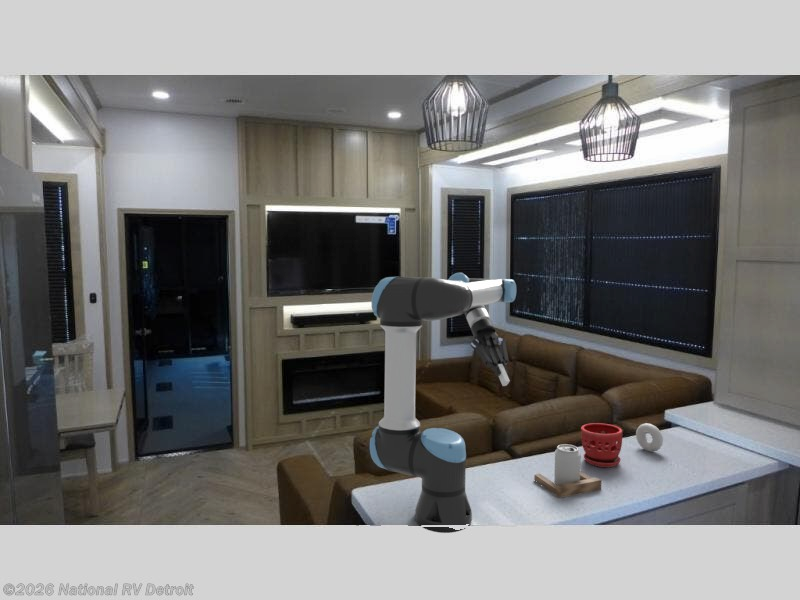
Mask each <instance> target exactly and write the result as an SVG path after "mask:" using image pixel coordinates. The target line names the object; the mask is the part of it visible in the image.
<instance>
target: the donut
mask: <svg viewBox="0 0 800 600" xmlns="http://www.w3.org/2000/svg"><path fill="white" fill-rule="evenodd" d="M647 434H649V435H650V436H651V438H652V440H651V441H649V440H648V438H647ZM635 436H636V437H635V438H636V441H637V443H638V444H639V446H640V447H641V448H642V449H643V450H645V451H647V452H653V453H654V452H658V450H660V449H661V448H662V446H663V443H664V437H663V434H662V432H661V431H660V429H659V428H658V427H657V426H656V425H653V424H652V423H647V422H645V423H642V424H640V425H639V426H638V427H637V429H636V431H635Z"/></svg>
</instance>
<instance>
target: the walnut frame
mask: <svg viewBox="0 0 800 600" xmlns="http://www.w3.org/2000/svg"><path fill="white" fill-rule="evenodd" d="M533 478H534V479H533V480H535V481H534V482H536V481H537V482H538V483H539V485H540V486H541V485H542V487H543V488H544V487H545V488H544V489H545V490H547V491H549V492H550V493H551V494H553V495H554V496H556V497H557V498H559V499H561V498H566V497H571V496H576V495H580V494H586V493H591V492H596V491H601V490H602V480H601V479H600V478H598V477H591V476H590V475H588V474H587V473H584V472H583V471H581V470H580V481H575V482H570V483H564V484H559V485H557V484H556V483H555V482H553V481H552V480H551V479H549V478H548V477H546V476H545V475H543V474H542V473H536V474H534V475H533ZM537 482H536V483H537ZM538 483H537V484H538Z"/></svg>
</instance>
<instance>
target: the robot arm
mask: <svg viewBox="0 0 800 600" xmlns="http://www.w3.org/2000/svg"><path fill="white" fill-rule="evenodd" d="M516 296H517V284H516V282H515V280H514V279H511V278H508V279H507V278H475V277H474V278H469V277H468V276H467V275H466V274H464V273H463V272H456V273H454V274H452V275H451V276H449V278H448V279H443V278H438V277H437V278H436V277H421V276H420V277H419V276H417V277H414V276H413V277H412V276H411V277H410V276H388V277H387V276H386V277H384V278H382V279H380V280H379V282H378V283H377V285H376V286H375V287H374V289H373V292H372V296H371V311H372V312H373V314H374V316H375V317H376V318H378V319H379V326H380V327H381V328H382V329H383V330H384V332H385V333H384V334H385V335H384V336H385V337H384V339H385V341H384V346H385V347H384V399H383V401H384V407H383V409H384V412H383V413H384V414H383V417H382V418H381V420H379V421H378V425H377V426H376V427H375V428H374V429H373V431H372V433H371V437H370V439H369V452H370V457H371V459H372V461H373V463H374V464H375V465H376V466H377V467H379V468H381V469H384V470H387V471H389V472H394V473H400V474H402V475H403V474H404V475H408V476H412V477H417V478H420V479H421V492H420V494H419V497H418V501H417V504H416V506H415V522H416V523H417V525H419V526H420V525H466V524H470V523H471V524H472V522H471V521H472V520H473V518H472V517H473V514H472V513H473V512H472V508H471V506H470V505H471V504H470V502H469V498H468V496H467V493H466V470H467V468H466V464H467V463H466V461H467V460H466V459H467V452H466V443H465V440H464V438H463V437H462V435H460V433H459V434H458V432H455V431H453V430H450V429H447V428H442V427H438V428H437V427H430V428H426V429H424V430H423V431H422V432H421V422H420V420H418V419H417V418H416V381H417V380H416V378H417V377H416V375H417V372H416V371H417V370H416V369H417V367H416V366H417V332H418V331H419V330H420V329H421V328H422V327H423V322H424V321H425V322H426V321H428V322H433V321H434V322H435V321H440V320H445V319H448V318H449V319H450V318H453V317H457V316H461V315H463V314H464V315H465V318H466V321H467V323H468V326H469V327H470V331H471V333H472V335H473V337H474V339H473V340H472V341H471V343H470V347H471V348H472V349H474V351H475V352H476V354H477V355H478V356H479V358H480V360H481V361H482V362H483V363H484V366H486V368H490V369H491V370H493V373H494V374H495V376H496V377H498V379H499V381H500V383H501V385H502V387H506V386H507V387H508V385H509V383H510V381H511V380H510V378H509V375H508V373H509V371H508V368H507V364H508V363H509V362H510V359H509V355H508V350H507V349H508V348H507V345H506V343H507V338H506V337H503V338H501V337H500V336H499V334H497V332H496V327H495V326H494V324H493V321H492V320H491V317H490V314H489V313H488V310H487V309H486V305H491V304H495V303H503V304H505V303H513V302H514V301H515V300H516ZM471 524H470V525H471ZM422 529H425V530H427V531H431V532H434V533H441V534H446V533H447V534H448V533H449V534H451V533H456V532H460V531H464V530H465V529H466V528H464V529H460V530H455V529H453V528H449V527H422Z"/></svg>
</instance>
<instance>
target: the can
mask: <svg viewBox="0 0 800 600" xmlns="http://www.w3.org/2000/svg"><path fill="white" fill-rule="evenodd" d="M580 471H581V452H580V450H579V448H578V447H577V446H576V445H573V444H567V443H563V444H562V443H561V444H558V445H557V446H556V449H555V451H554V480H553V481H554V482H553V483H555V484H556V485H559V484H564V483H570V482H575V481H580Z"/></svg>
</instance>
